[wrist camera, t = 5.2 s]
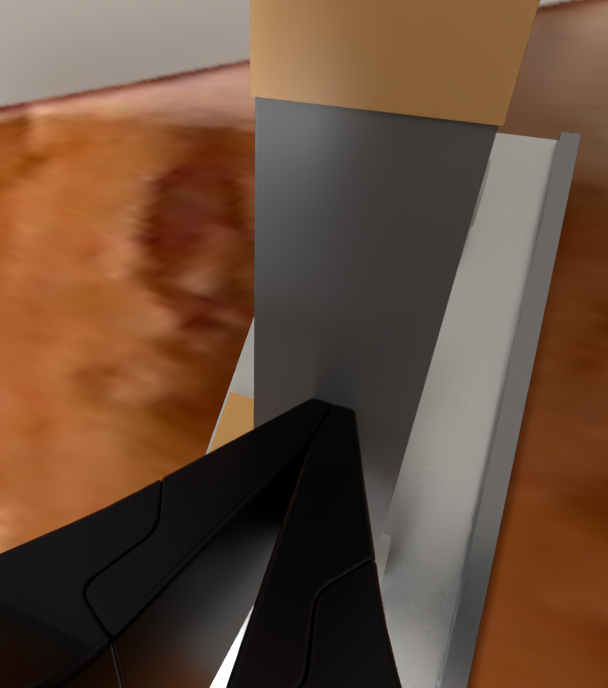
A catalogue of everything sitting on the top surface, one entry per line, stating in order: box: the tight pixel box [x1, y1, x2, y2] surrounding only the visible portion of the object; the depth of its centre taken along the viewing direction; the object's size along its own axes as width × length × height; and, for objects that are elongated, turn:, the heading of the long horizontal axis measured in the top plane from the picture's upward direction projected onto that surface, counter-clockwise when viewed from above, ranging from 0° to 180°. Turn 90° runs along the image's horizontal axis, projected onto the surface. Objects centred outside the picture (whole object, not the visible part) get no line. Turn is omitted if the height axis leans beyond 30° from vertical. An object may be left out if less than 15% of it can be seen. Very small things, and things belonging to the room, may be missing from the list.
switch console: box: [206, 132, 581, 688], centre depth 14 cm, size 20×9×1 cm, turn 162°
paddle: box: [250, 0, 540, 587], centre depth 9 cm, size 2×4×13 cm
